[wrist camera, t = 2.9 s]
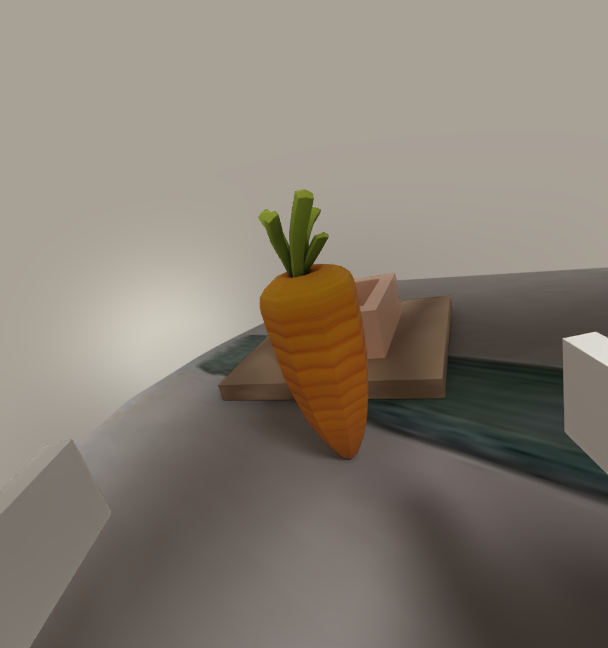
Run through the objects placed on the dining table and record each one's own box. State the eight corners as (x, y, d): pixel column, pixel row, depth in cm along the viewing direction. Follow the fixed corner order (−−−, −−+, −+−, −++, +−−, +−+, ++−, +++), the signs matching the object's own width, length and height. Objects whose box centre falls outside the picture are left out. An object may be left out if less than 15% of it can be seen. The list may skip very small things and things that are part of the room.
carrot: (301, 445, 24) (229, 208, 20) (374, 421, 25) (321, 183, 20) (319, 502, 20) (229, 209, 15) (407, 470, 20) (349, 176, 15)
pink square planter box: (402, 312, 37) (395, 272, 36) (385, 358, 29) (375, 309, 28) (307, 321, 42) (298, 287, 40) (270, 364, 34) (257, 322, 32)
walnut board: (451, 309, 39) (449, 295, 38) (444, 398, 25) (442, 378, 25) (293, 324, 46) (290, 313, 46) (223, 400, 33) (218, 385, 32)
